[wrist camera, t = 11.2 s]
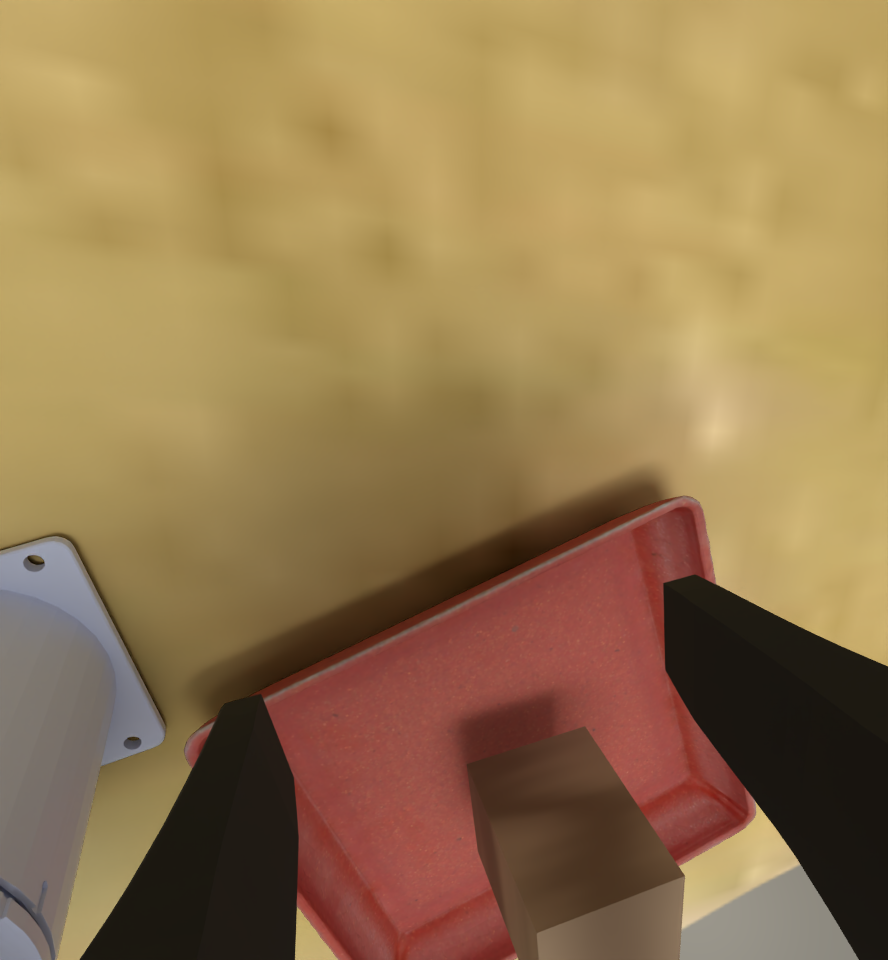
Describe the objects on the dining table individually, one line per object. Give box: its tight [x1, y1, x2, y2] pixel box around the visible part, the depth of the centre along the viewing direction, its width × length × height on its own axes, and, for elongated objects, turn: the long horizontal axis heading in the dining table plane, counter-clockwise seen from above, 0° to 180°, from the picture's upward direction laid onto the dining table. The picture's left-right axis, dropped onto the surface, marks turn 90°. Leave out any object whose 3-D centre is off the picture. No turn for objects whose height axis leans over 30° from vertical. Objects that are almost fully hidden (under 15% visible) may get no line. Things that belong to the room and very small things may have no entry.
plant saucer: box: [184, 496, 756, 960], centre depth 26 cm, size 18×18×3 cm
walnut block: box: [467, 726, 685, 960], centre depth 22 cm, size 4×4×6 cm
